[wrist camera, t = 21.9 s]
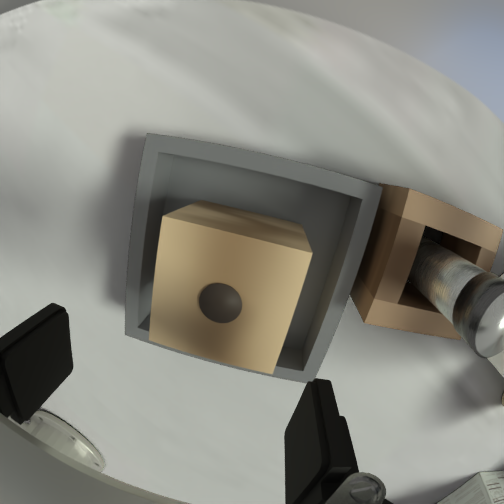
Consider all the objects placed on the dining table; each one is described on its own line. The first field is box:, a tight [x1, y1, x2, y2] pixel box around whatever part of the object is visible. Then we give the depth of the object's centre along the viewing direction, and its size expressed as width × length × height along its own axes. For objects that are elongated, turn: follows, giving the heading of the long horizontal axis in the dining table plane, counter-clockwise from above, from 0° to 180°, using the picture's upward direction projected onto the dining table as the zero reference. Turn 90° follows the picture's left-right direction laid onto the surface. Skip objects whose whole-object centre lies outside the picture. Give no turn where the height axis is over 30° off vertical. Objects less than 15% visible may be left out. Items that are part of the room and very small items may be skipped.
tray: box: [125, 133, 383, 383], centre depth 17 cm, size 12×12×3 cm
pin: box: [407, 236, 504, 358], centre depth 12 cm, size 3×3×10 cm
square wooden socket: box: [350, 183, 503, 340], centre depth 15 cm, size 7×7×4 cm
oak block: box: [149, 200, 313, 374], centre depth 15 cm, size 6×6×6 cm
